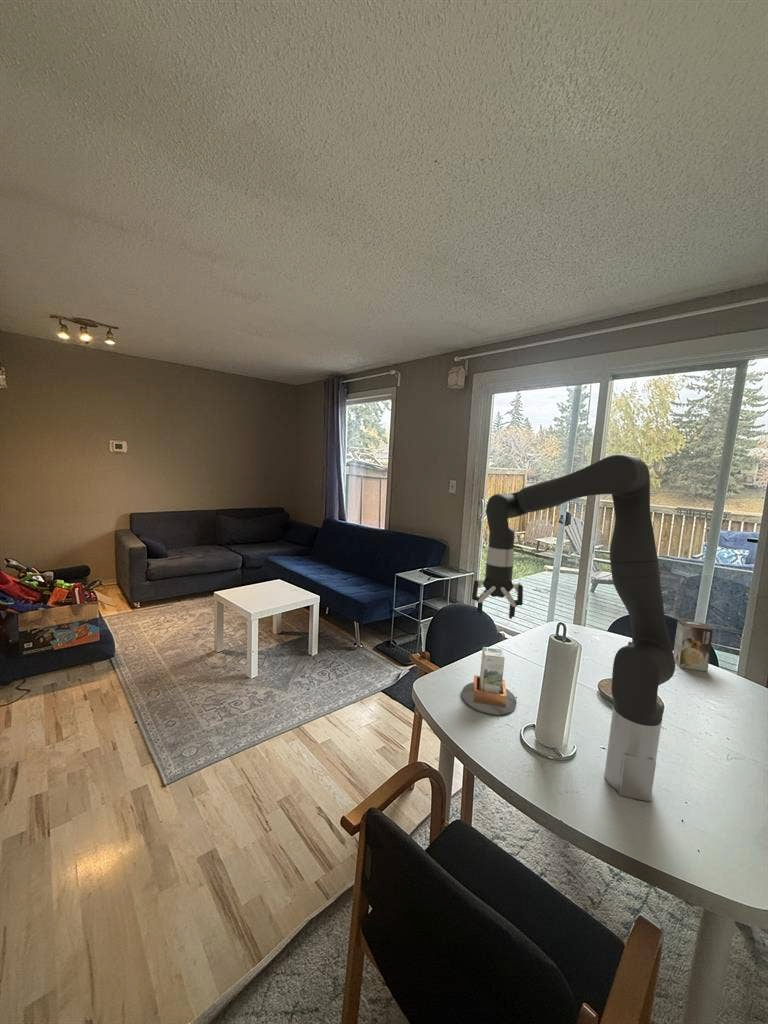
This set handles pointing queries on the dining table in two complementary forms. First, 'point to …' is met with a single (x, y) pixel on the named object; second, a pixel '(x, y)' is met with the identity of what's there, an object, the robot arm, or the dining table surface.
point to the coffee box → (692, 645)
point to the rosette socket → (488, 699)
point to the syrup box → (491, 670)
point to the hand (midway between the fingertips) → (495, 615)
